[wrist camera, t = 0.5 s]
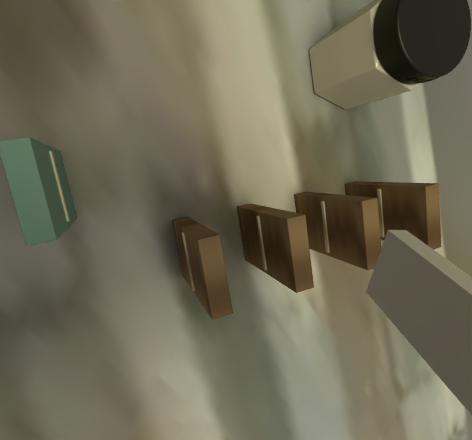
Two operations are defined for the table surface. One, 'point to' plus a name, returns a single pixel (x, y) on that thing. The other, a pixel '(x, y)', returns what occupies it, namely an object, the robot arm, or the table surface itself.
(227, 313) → the domino
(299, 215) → the domino
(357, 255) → the domino
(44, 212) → the domino teal
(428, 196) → the domino
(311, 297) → the table surface
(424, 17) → the jar
